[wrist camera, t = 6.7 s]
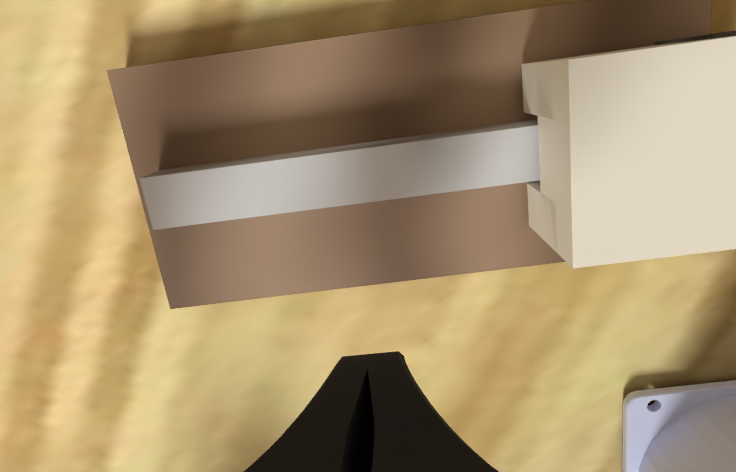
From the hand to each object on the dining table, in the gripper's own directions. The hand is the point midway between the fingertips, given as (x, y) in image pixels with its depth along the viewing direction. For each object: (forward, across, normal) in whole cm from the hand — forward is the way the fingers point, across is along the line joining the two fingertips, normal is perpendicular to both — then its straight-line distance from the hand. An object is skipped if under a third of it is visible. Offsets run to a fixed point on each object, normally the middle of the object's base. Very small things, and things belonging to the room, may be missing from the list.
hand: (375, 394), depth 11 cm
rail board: (+8, -2, -4) cm, 9 cm away
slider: (+6, -7, -4) cm, 10 cm away
